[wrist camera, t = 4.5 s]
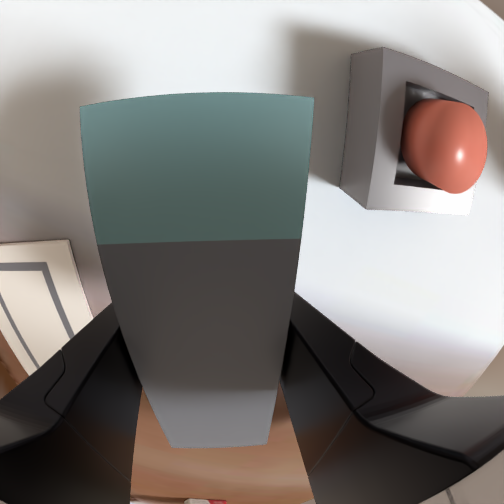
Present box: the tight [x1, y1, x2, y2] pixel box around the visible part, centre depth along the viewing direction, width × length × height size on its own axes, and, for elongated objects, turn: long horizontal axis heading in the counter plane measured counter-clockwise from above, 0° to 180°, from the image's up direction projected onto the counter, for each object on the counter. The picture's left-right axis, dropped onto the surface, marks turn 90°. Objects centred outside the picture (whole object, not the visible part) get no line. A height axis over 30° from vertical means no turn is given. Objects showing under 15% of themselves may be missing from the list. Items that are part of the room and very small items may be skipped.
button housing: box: [340, 47, 489, 215], centre depth 12 cm, size 7×7×3 cm
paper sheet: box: [0, 240, 93, 376], centre depth 17 cm, size 16×10×1 cm, turn 178°
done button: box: [400, 98, 487, 194], centre depth 10 cm, size 4×4×2 cm
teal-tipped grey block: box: [80, 92, 314, 448], centre depth 8 cm, size 11×4×4 cm, turn 178°
